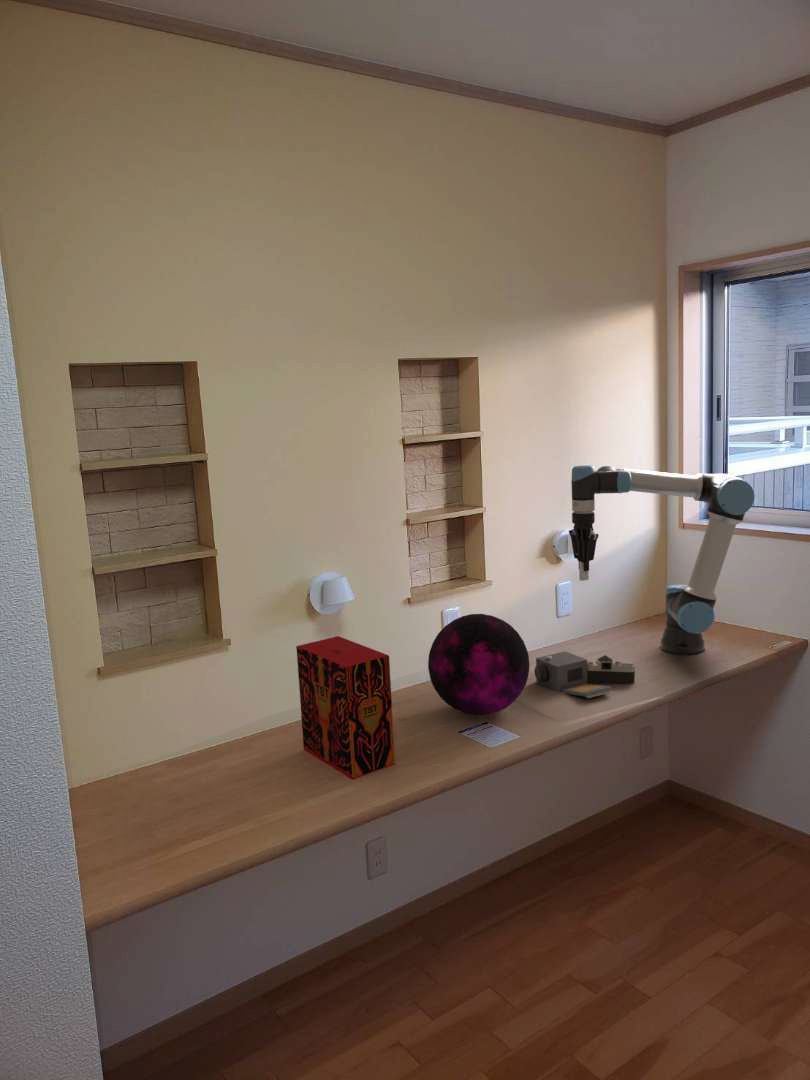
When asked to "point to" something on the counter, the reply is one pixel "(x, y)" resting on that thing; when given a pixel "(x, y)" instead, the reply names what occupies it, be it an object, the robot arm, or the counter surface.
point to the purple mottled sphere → (478, 664)
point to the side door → (587, 690)
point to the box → (346, 705)
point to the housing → (561, 670)
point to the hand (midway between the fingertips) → (583, 579)
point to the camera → (610, 672)
